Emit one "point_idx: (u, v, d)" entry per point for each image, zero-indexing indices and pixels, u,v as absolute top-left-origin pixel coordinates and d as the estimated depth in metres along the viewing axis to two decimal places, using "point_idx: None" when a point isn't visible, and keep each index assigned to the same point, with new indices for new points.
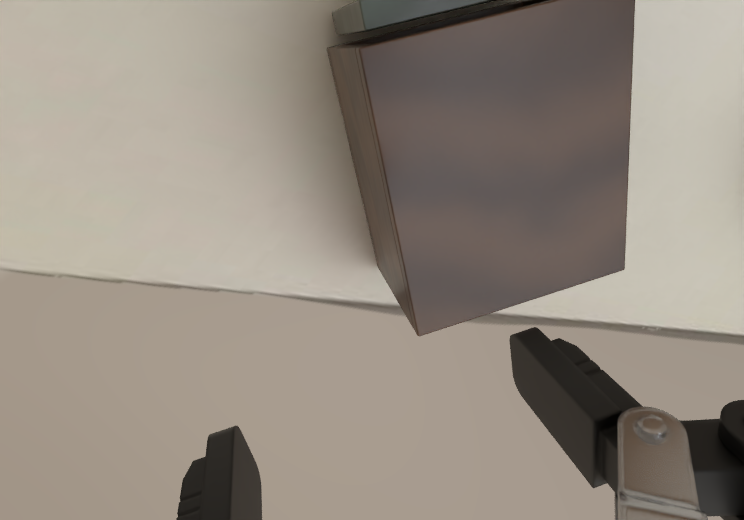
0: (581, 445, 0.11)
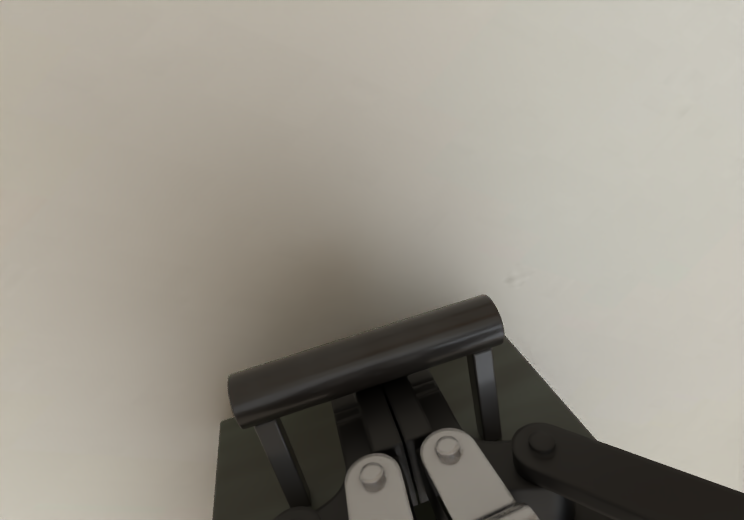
0: (408, 462, 0.11)
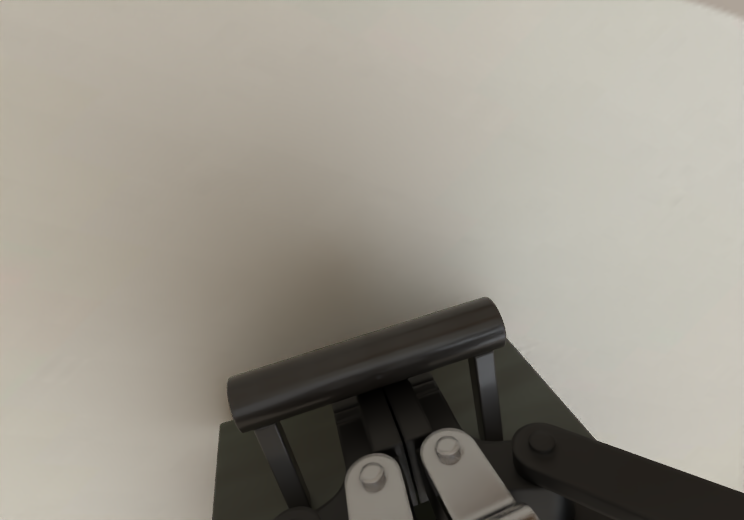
0: (408, 462, 0.11)
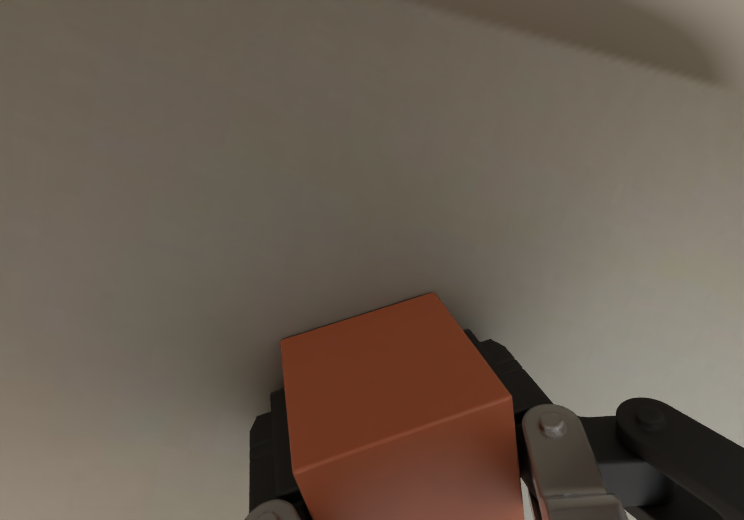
0: None
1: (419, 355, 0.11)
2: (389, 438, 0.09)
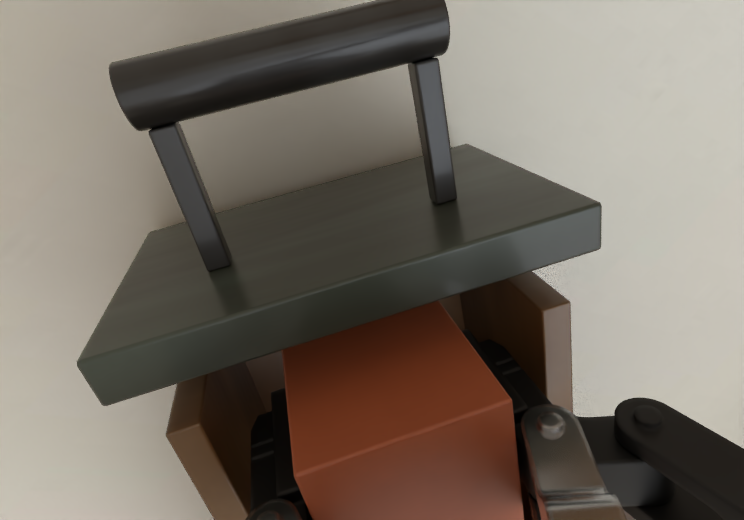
0: None
1: (419, 358, 0.11)
2: (391, 440, 0.09)
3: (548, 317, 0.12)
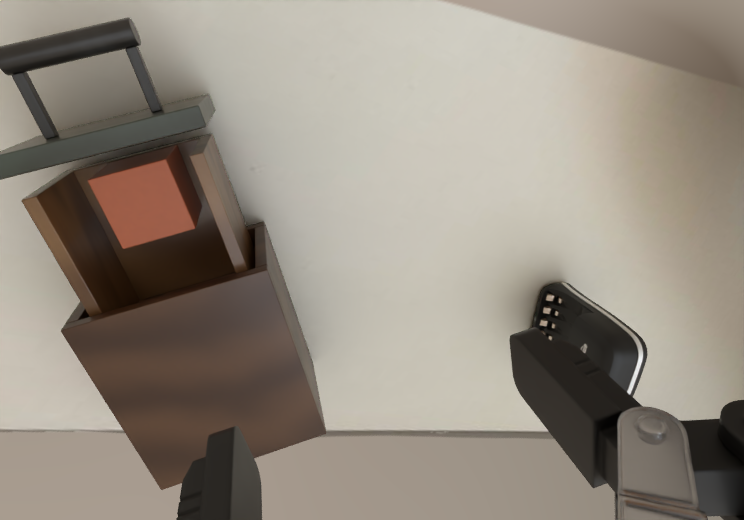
0: (581, 445, 0.11)
1: (150, 157, 0.29)
2: (121, 171, 0.27)
3: (194, 159, 0.27)
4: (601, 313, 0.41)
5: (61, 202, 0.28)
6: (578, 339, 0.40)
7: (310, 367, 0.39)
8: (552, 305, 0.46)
